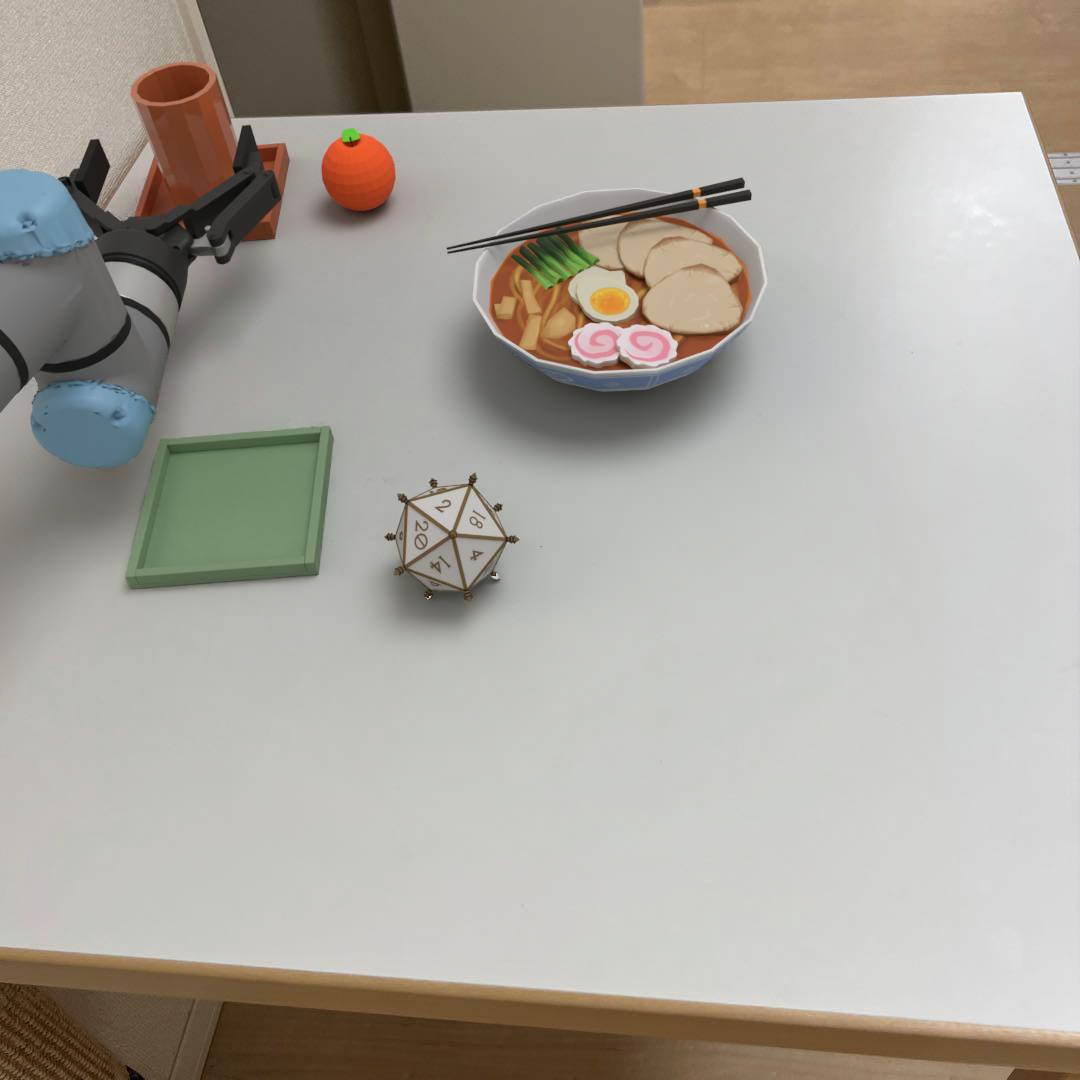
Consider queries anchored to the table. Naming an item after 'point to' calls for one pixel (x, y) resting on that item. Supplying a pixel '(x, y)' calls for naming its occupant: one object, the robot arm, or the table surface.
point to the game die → (449, 537)
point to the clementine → (358, 171)
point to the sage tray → (233, 508)
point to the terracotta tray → (160, 202)
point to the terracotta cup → (186, 127)
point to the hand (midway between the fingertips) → (175, 145)
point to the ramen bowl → (621, 284)
